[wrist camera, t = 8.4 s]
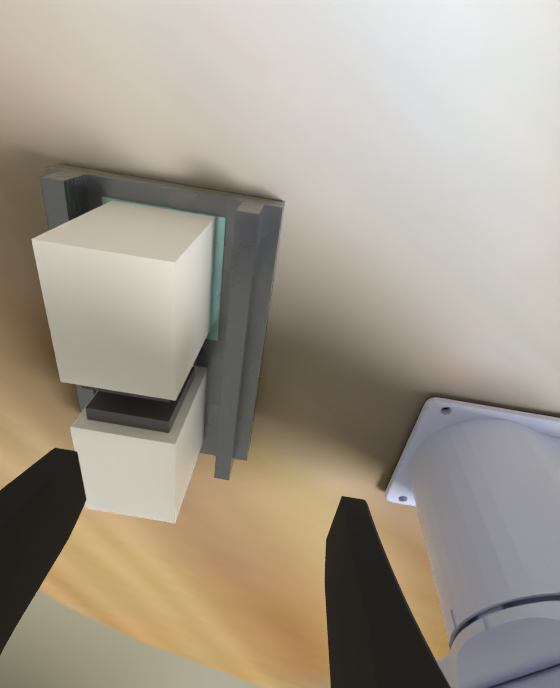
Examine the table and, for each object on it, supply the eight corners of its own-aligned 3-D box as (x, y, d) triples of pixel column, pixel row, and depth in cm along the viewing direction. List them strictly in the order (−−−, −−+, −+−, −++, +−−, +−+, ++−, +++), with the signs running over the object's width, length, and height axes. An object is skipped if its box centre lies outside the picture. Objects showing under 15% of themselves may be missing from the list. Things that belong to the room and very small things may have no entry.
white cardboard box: (215, 217, 15) (174, 262, 11) (209, 340, 18) (175, 413, 14) (112, 200, 15) (31, 238, 11) (123, 326, 18) (63, 395, 14)
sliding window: (284, 201, 16) (279, 217, 13) (249, 447, 23) (242, 482, 21) (60, 163, 16) (20, 173, 13) (97, 421, 23) (75, 454, 21)
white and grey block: (131, 428, 22) (85, 508, 17) (125, 343, 19) (67, 414, 14) (203, 440, 22) (175, 523, 17) (208, 357, 19) (175, 433, 14)
